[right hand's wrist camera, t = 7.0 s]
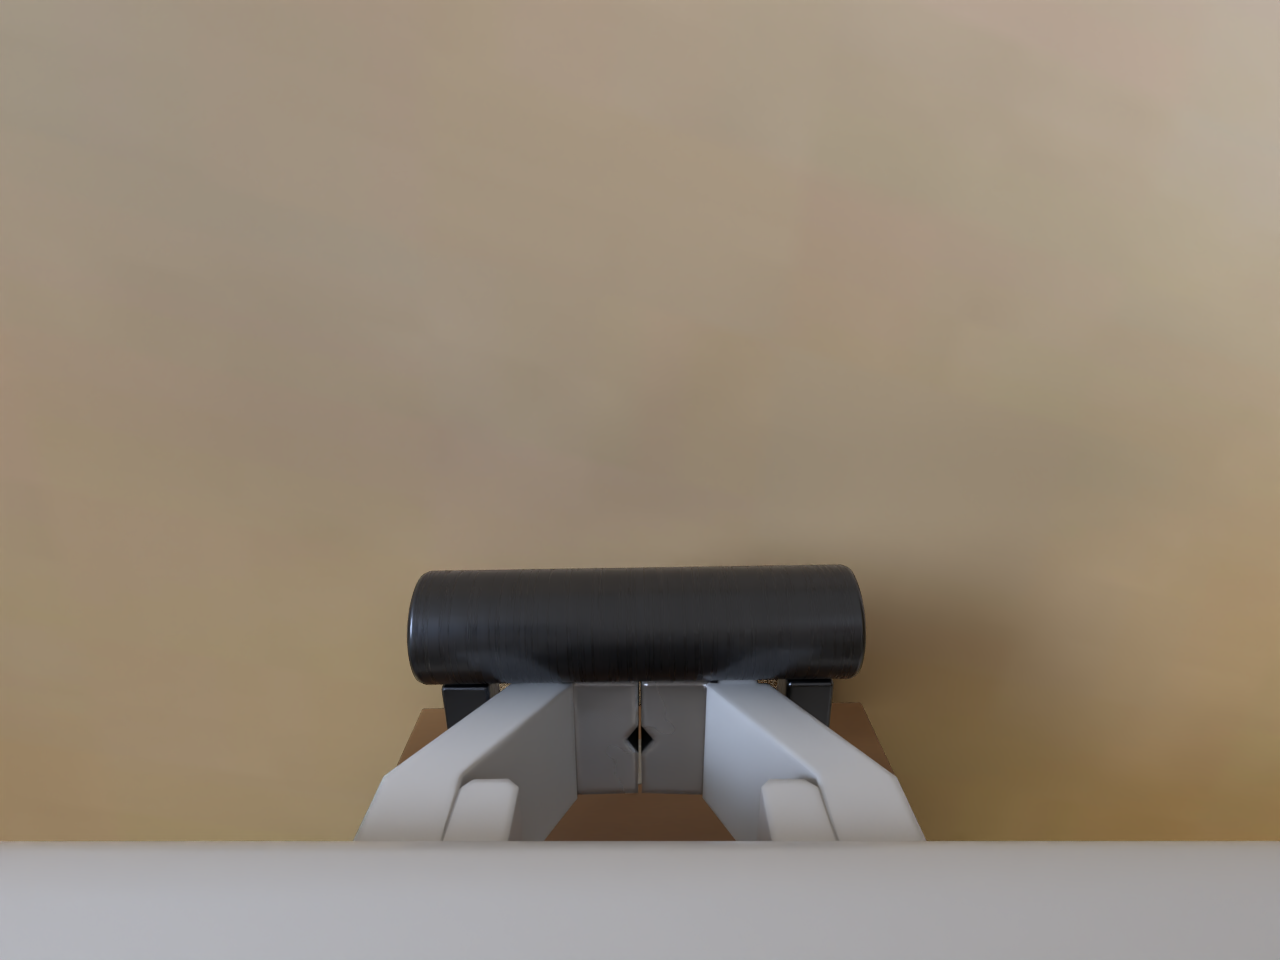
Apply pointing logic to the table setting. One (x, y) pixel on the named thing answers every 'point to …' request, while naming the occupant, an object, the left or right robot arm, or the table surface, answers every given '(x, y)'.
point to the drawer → (640, 656)
